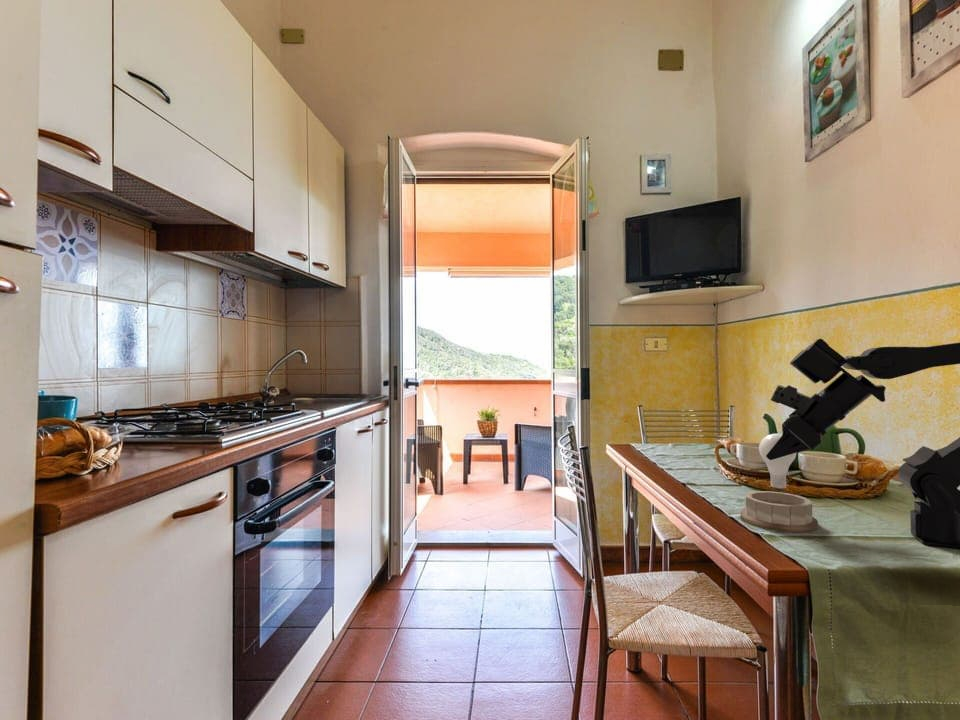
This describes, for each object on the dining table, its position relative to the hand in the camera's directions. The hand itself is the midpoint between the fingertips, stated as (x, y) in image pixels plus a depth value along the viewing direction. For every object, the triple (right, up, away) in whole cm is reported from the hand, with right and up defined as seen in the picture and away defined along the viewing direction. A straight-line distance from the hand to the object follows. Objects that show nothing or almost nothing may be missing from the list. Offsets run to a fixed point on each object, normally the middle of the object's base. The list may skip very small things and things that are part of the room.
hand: (769, 455), depth 99 cm
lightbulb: (+1, -7, -1) cm, 7 cm away
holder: (+1, -13, -1) cm, 13 cm away
